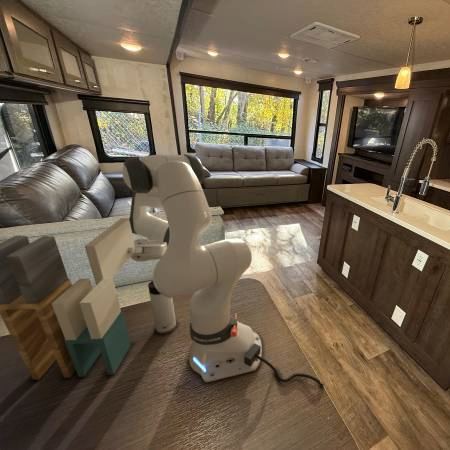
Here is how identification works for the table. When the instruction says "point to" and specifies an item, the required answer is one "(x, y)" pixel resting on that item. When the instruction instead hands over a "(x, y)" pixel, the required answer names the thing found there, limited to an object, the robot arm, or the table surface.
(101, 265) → the white book
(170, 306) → the travel mug
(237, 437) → the table surface
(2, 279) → the book stand
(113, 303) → the cream teal blocky piece
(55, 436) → the table surface
